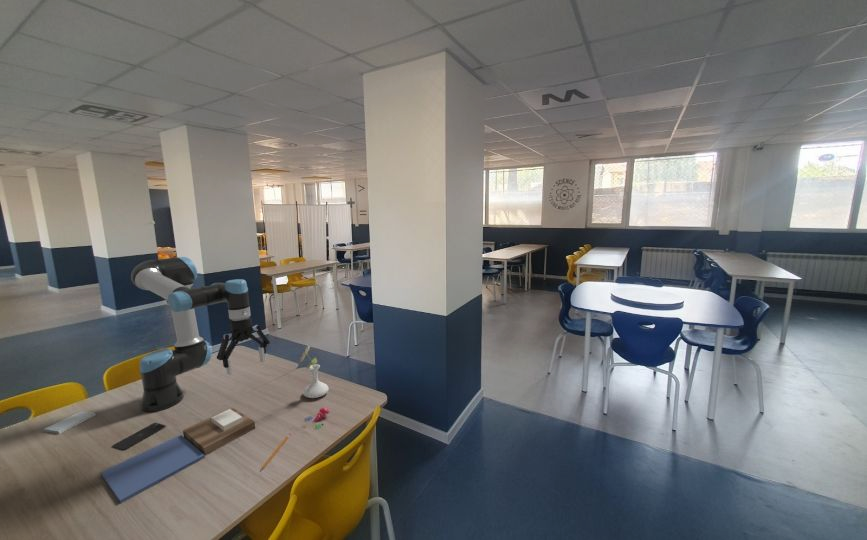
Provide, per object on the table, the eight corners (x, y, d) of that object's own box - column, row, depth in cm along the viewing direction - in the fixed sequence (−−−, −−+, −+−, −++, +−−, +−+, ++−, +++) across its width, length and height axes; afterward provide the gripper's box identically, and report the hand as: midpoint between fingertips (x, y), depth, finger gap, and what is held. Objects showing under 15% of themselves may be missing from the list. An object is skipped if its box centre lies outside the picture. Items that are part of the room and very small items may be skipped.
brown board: (183, 437, 129) (182, 430, 128) (232, 413, 144) (231, 407, 143) (205, 455, 119) (204, 447, 119) (255, 428, 134) (254, 421, 133)
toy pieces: (311, 412, 145) (311, 403, 144) (334, 416, 142) (333, 407, 141) (292, 429, 134) (291, 419, 133) (316, 434, 130) (315, 424, 130)
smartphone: (110, 445, 124) (154, 421, 138) (110, 447, 124) (155, 423, 138) (123, 449, 122) (167, 425, 136) (123, 452, 122) (167, 427, 136)
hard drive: (58, 431, 131) (95, 412, 143) (42, 429, 133) (80, 410, 145) (59, 435, 132) (96, 416, 144) (43, 432, 133) (81, 414, 145)
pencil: (288, 434, 130) (258, 472, 111) (289, 432, 130) (259, 469, 111) (290, 435, 130) (260, 473, 111) (291, 433, 130) (261, 471, 111)
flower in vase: (314, 385, 166) (311, 338, 162) (333, 390, 162) (330, 341, 158) (295, 399, 154) (290, 348, 150) (315, 404, 150) (311, 351, 146)
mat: (101, 474, 111) (100, 472, 111) (181, 436, 129) (180, 434, 129) (120, 503, 100) (120, 500, 100) (204, 457, 118) (204, 454, 118)
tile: (211, 422, 133) (211, 417, 133) (230, 413, 139) (229, 408, 139) (224, 430, 128) (223, 426, 127) (243, 421, 133) (242, 416, 133)
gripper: (210, 328, 123) (218, 382, 126) (274, 311, 143) (280, 358, 146) (201, 325, 127) (209, 378, 130) (265, 309, 147) (270, 355, 151)
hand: (246, 367), depth 138 cm, fingers open, 13 cm apart
